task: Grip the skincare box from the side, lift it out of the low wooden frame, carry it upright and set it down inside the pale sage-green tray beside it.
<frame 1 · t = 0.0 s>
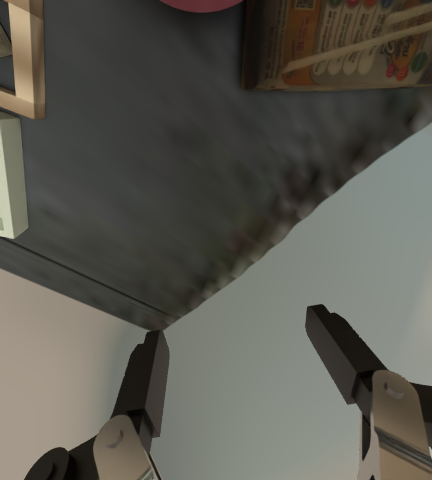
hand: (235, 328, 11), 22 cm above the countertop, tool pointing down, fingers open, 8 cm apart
printed cardboard box: (324, 48, 23), on the countertop
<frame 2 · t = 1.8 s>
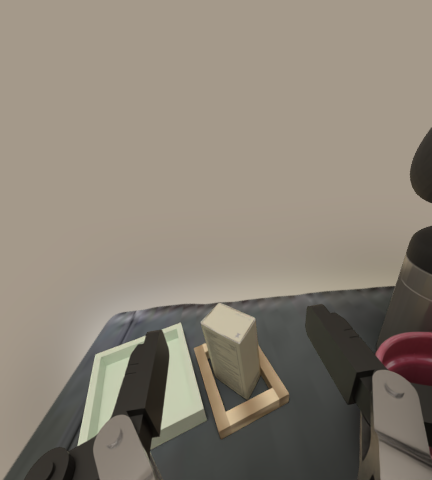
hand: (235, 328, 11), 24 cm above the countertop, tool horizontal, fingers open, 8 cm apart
wooden frame: (236, 376, 32), on the countertop
skincare box: (236, 376, 32), resting in wooden frame
sage tray: (146, 389, 32), on the countertop
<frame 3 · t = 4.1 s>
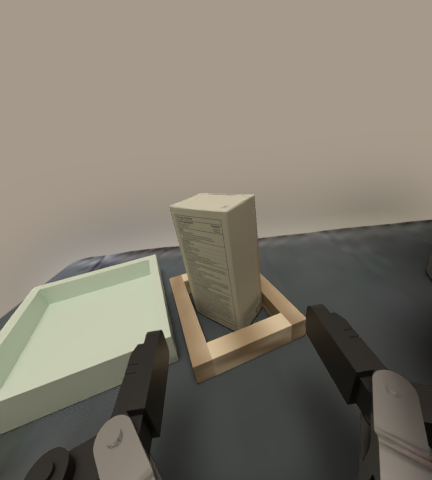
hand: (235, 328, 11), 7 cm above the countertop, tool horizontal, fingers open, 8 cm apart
wooden frame: (227, 309, 22), on the countertop
skincare box: (227, 310, 22), resting in wooden frame
sage tray: (98, 327, 22), on the countertop
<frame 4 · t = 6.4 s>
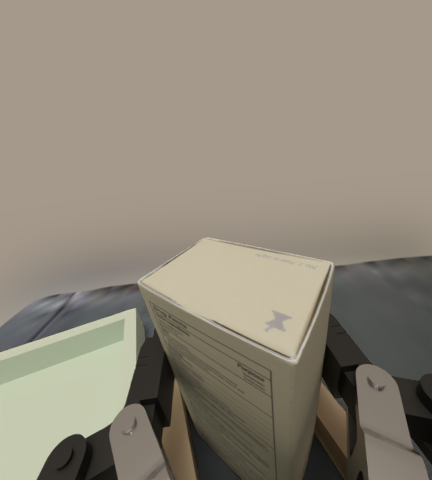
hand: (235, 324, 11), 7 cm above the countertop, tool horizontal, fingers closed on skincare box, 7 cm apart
wooden frame: (251, 433, 13), on the countertop
skincare box: (251, 434, 13), resting in wooden frame, touching gripper
sage tray: (25, 465, 13), on the countertop
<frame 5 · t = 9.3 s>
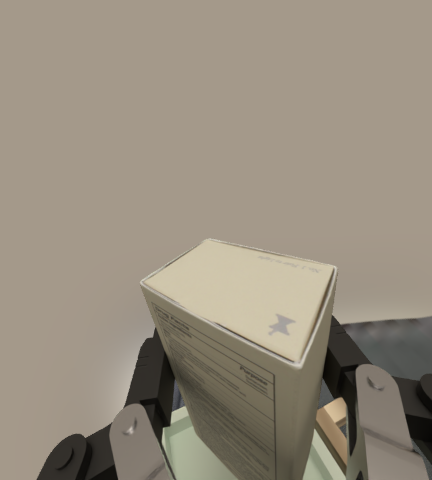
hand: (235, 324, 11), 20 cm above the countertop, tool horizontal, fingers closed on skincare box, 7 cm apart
wooden frame: (403, 472, 19), on the countertop
skincare box: (250, 436, 13), point 12 cm above the countertop, touching gripper
when the fingers open (8 cm above the countertop, at t = 12.6 s): skincare box stays where it is, resting on sage tray.
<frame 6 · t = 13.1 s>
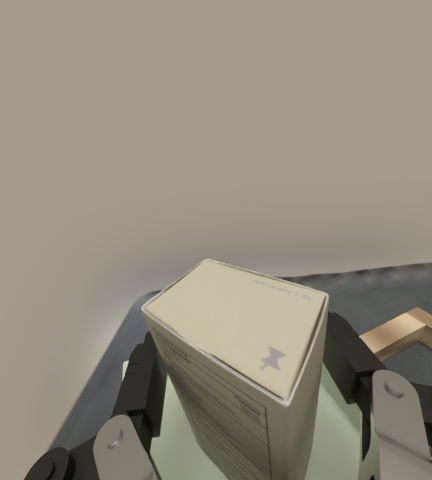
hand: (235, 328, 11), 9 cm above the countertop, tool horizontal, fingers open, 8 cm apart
skincare box: (250, 447, 13), resting on sage tray
sage tray: (252, 446, 13), on the countertop
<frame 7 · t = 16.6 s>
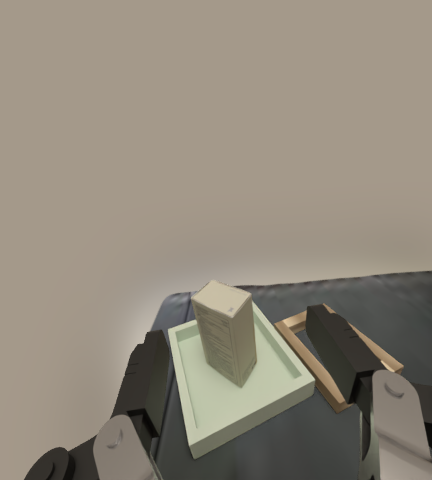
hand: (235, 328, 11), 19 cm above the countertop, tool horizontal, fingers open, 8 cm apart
wooden frame: (328, 351, 29), on the countertop
skincare box: (230, 364, 29), resting on sage tray
sage tray: (231, 364, 29), on the countertop
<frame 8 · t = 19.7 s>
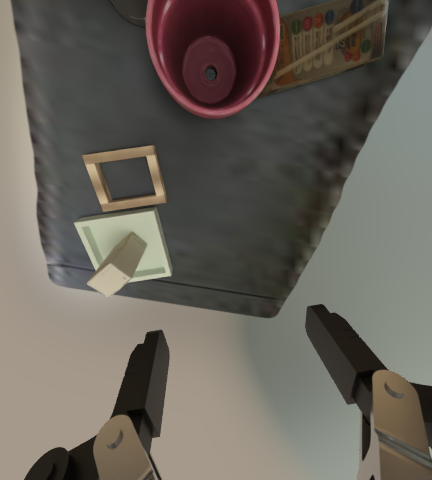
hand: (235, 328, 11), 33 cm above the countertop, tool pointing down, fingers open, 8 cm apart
wooden frame: (129, 178, 39), on the countertop
skincare box: (131, 246, 44), resting on sage tray
plant pot: (208, 75, 33), on the countertop
sage tray: (130, 244, 44), on the countertop
printed cardboard box: (299, 58, 33), on the countertop
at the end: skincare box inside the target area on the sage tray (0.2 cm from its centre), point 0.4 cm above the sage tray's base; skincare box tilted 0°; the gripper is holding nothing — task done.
